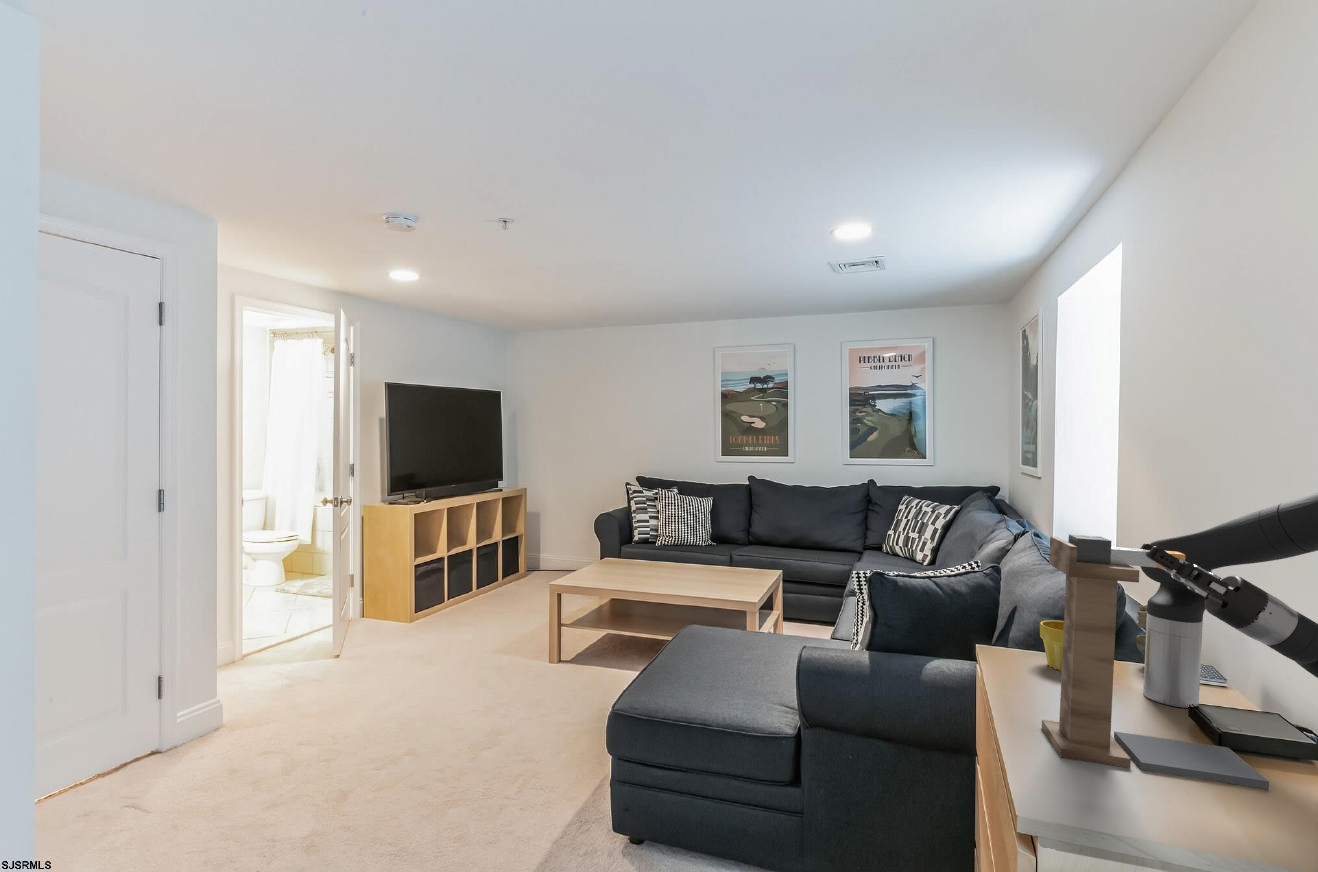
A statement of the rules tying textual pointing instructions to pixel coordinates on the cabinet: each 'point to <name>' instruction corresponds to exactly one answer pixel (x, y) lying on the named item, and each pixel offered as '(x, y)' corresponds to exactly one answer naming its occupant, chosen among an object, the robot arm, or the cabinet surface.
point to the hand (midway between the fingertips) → (1146, 549)
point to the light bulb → (1142, 623)
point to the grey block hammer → (1112, 552)
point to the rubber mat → (1189, 760)
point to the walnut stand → (1087, 658)
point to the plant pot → (1053, 641)
